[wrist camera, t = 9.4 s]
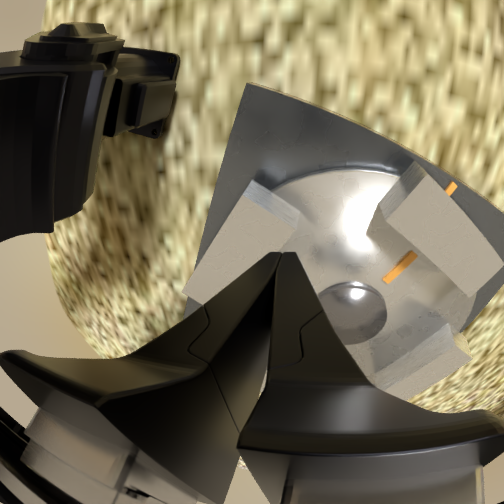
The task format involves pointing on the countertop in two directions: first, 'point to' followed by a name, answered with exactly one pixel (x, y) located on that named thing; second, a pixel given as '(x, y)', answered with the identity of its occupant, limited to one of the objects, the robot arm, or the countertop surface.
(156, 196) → the countertop surface
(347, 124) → the base plate
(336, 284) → the slotted metal disc
